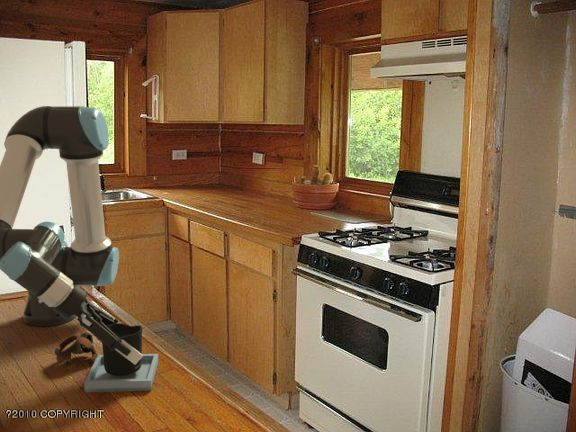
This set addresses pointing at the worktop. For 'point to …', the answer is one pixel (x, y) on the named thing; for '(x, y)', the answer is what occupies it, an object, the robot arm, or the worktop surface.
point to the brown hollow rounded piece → (76, 347)
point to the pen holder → (115, 360)
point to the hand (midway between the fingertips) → (136, 351)
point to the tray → (122, 377)
